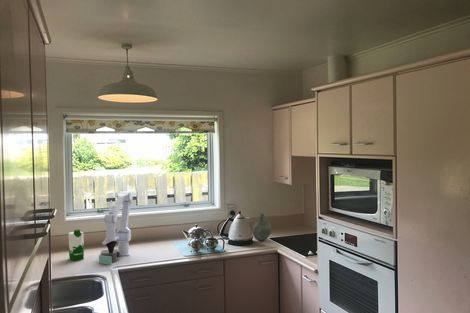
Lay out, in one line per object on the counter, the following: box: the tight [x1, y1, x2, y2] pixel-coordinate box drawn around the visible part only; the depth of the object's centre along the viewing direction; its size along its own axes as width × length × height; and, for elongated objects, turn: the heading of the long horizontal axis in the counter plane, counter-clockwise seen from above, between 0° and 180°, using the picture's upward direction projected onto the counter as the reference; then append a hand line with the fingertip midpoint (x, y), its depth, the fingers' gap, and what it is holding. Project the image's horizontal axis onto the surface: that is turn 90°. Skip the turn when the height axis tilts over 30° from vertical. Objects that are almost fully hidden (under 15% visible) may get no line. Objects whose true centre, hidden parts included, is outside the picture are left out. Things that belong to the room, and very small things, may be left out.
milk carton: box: [68, 229, 85, 262], centre depth 253 cm, size 9×9×20 cm
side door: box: [98, 254, 113, 266], centre depth 243 cm, size 1×10×5 cm, turn 71°
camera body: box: [99, 248, 121, 263], centre depth 251 cm, size 8×12×6 cm
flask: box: [252, 212, 272, 242], centre depth 300 cm, size 12×17×22 cm
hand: (111, 252), depth 245 cm, fingers closed
